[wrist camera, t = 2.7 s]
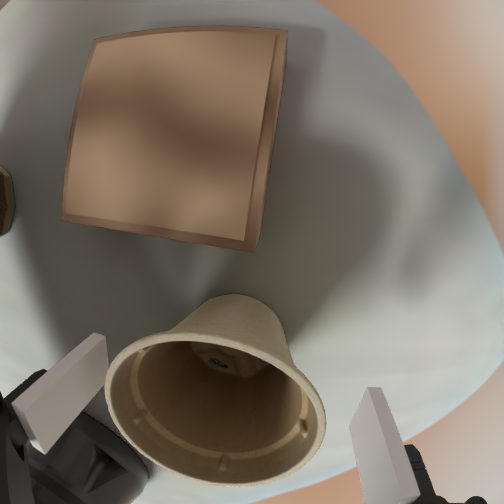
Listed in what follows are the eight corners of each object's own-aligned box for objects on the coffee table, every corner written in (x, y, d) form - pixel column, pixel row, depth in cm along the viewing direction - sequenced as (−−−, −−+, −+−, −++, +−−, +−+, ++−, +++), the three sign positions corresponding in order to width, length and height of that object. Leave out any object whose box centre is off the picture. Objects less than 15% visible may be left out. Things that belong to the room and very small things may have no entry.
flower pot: (168, 256, 18) (87, 309, 9) (321, 275, 17) (355, 351, 9) (169, 377, 20) (122, 460, 11) (295, 397, 19) (298, 493, 11)
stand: (258, 238, 17) (253, 253, 13) (96, 213, 17) (59, 221, 14) (286, 60, 14) (287, 28, 10) (123, 59, 15) (92, 37, 11)
